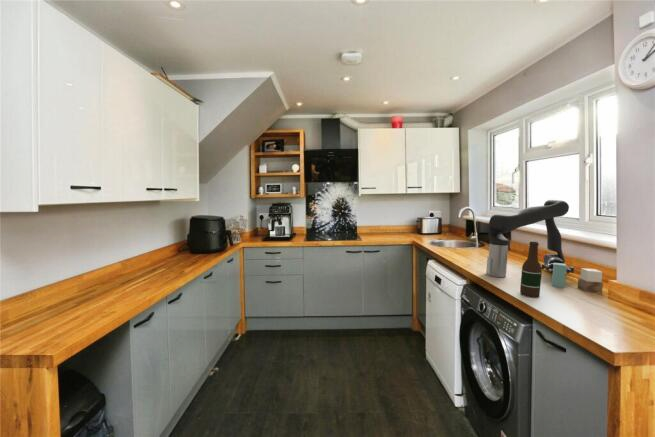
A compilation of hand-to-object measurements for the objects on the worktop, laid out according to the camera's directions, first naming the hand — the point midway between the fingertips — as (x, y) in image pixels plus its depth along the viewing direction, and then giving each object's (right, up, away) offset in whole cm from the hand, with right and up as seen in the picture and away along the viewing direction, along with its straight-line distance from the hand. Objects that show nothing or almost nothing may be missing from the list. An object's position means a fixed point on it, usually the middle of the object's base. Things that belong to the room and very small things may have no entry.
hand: (558, 270), depth 175 cm
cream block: (+7, -3, -12) cm, 14 cm away
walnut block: (+7, -8, -11) cm, 16 cm away
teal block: (-4, -7, -5) cm, 10 cm away
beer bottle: (-28, -8, -23) cm, 37 cm away
